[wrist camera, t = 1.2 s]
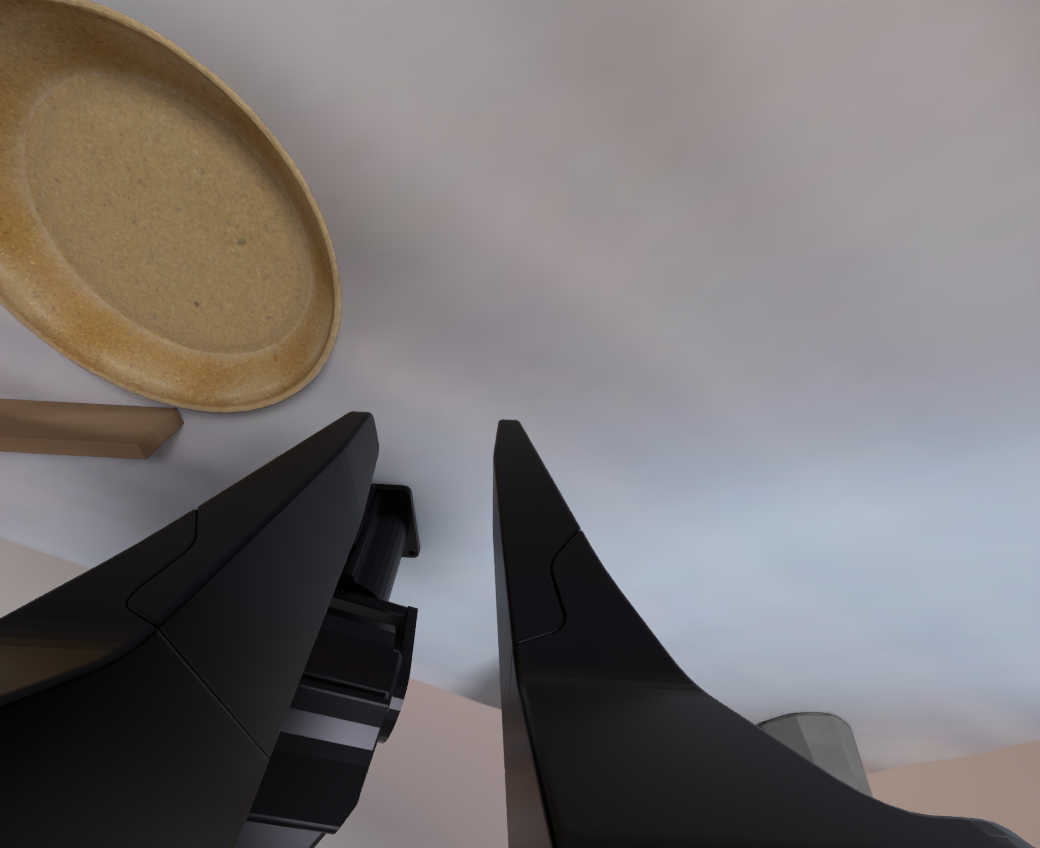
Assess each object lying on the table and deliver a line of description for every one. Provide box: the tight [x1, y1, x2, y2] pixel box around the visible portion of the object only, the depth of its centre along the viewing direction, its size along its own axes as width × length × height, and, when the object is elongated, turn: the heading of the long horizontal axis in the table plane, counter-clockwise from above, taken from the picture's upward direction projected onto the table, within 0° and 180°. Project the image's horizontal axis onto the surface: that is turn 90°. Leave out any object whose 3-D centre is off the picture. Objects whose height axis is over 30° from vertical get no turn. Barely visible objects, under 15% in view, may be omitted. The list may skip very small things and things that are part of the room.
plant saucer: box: [0, 0, 342, 412], centre depth 18 cm, size 15×15×3 cm
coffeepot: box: [759, 712, 873, 798], centre depth 39 cm, size 15×9×18 cm, turn 26°
